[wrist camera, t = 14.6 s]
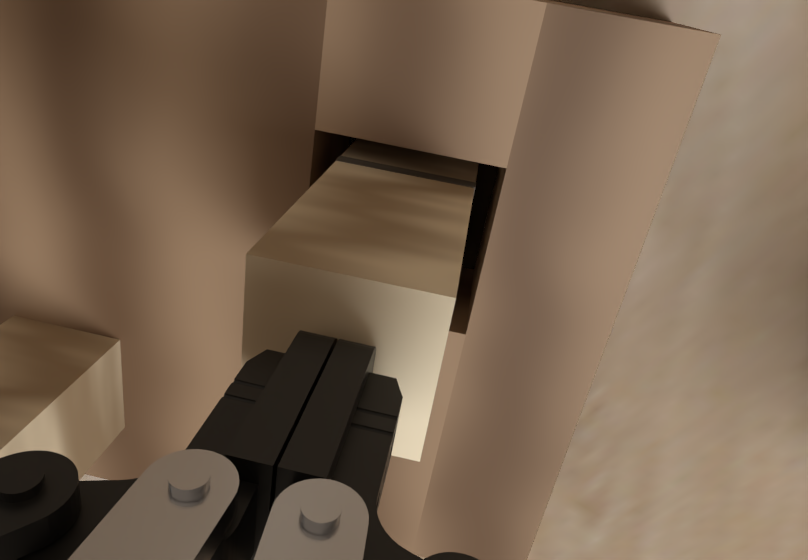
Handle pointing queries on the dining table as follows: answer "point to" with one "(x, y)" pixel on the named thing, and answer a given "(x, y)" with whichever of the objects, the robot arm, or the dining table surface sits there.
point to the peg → (369, 268)
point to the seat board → (287, 181)
